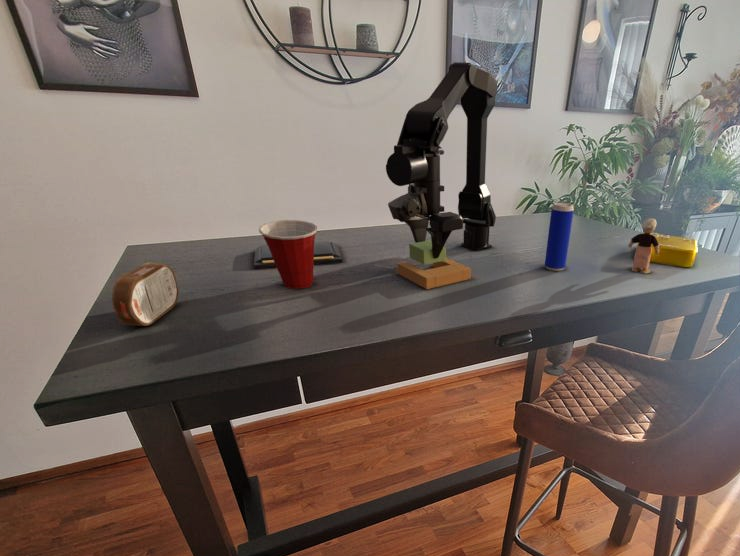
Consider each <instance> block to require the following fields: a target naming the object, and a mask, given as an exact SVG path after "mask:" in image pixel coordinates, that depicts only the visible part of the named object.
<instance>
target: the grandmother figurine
mask: <svg viewBox="0 0 740 556" xmlns="http://www.w3.org/2000/svg"><path fill="white" fill-rule="evenodd" d="M656 227H657V220H656V218H653V217H650V218H647V219H645V220H644V221H643V223H642V224H641V226H640V228H642V231H643V233H638V234H636V235H635V236H633V237H632V238H631V239H630V241H629V243H628V244H627V247H628V248H632V247H633V246H634V244H638V243H639V244H638V246H637V245H636V248H637V249H635V253H634V258H633V262H632V267H631V272H634V273H638V272H640V273H641V274H650V273H651V270H650V269H649V267H650V263H651V262H650V256H651V250H652V248H651V244H652V245H653V246H654V249H655V253H656V254H658V253H659V244H658V241H657V239H656V237H655V236H653V235H651V233H654V231H655V230H656Z"/></svg>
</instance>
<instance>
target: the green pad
mask: <svg viewBox="0 0 740 556" xmlns="http://www.w3.org/2000/svg"><path fill="white" fill-rule="evenodd" d="M408 246H409V258H410V259H412V260H414V261H415V262H418V263H420V264H422V265H423V266H425V265H430V264H433V263H435V262H440V261H445V260H446V258H447V246H446V245H444V247H443V249H442V251H441V253H440V255H439V257H438V258H436V259H435V258H434V257H433V251H432V241H431V239H430V240H425V241H423V242H417V243H415V242H412V243H409V244H408Z"/></svg>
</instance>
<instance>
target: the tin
mask: <svg viewBox="0 0 740 556" xmlns="http://www.w3.org/2000/svg"><path fill="white" fill-rule="evenodd" d="M178 298H179V287H178V282H177V278H176V274H175V271H174V269H173V268H172V267H170V265H168V264H165V263H157V262H151V261H148V262H145V263H143V264H141V265H139V266H138V267H135V268H134V269H132V270H130V271H128V272H126V273H124V274H122V275H121V276H119V277H118V278H117V279H116V281H115V283H114V285H113V288H112V293H111V300H112V307H113V311H114V313H115V315H116V317H117V318H118V320H119V321H120V322H121V323H122V324H123V325H126V326H128V327H133V326H134V327H135V326H136V327H147V326H151V325H153V324H154V323H155V322H157V321H158V320H159V319H160V318H161V317H163V316H164V315H165V314H167V313H169V312H170V311H171V310H172V309H173V308H174V307H175V306H176V303H177V302H178Z"/></svg>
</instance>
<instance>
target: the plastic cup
mask: <svg viewBox="0 0 740 556" xmlns="http://www.w3.org/2000/svg"><path fill="white" fill-rule="evenodd" d="M258 232H259V233H260V234H261V236H262V237H263V239H264V241H265V244H266V245H268V247H269V250H270V252H271V255H272V257H273V260H274V262H275V265H276V267H275V268H276V270H277V271H278V273H279V276H280V279H281V282H282V284H283V285H284V287H286V288H287V289H295V290H297V289H305V288H309V287H311V286H312V285H313V284H314V265H315V264H314V242H315V239H316V233H317V232H318V226H317V225H316V224H315V223H313V222H309V221H307V220H300V219H281V220H273V221H270V222H265V223H264V224H262V225H260V226H259V228H258Z"/></svg>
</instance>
